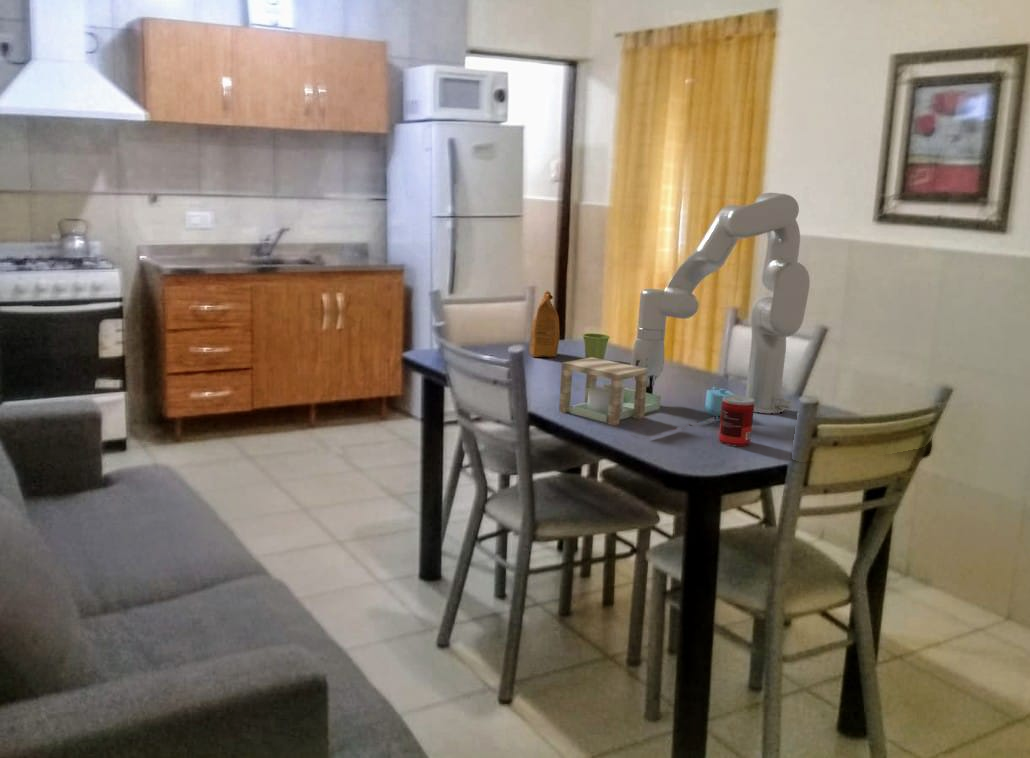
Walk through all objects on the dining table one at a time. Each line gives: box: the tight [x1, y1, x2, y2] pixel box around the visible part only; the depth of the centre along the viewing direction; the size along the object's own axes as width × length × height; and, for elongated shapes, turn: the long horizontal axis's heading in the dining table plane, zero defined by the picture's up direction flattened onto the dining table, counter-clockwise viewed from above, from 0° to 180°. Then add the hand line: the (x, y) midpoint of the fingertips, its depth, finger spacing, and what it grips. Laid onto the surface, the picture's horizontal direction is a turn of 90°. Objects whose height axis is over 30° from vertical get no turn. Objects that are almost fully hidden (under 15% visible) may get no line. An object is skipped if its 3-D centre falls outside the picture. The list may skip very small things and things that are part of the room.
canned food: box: [718, 394, 755, 447], centre depth 238 cm, size 8×8×11 cm
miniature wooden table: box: [558, 357, 648, 427], centre depth 255 cm, size 18×13×14 cm
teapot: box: [704, 386, 736, 418], centre depth 266 cm, size 12×6×8 cm, turn 10°
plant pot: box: [581, 332, 611, 360], centre depth 335 cm, size 9×9×9 cm
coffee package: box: [529, 290, 561, 358], centre depth 337 cm, size 10×12×22 cm
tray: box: [569, 387, 662, 424], centre depth 261 cm, size 12×24×4 cm, turn 139°
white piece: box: [603, 383, 625, 414], centre depth 259 cm, size 5×5×7 cm
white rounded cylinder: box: [587, 386, 609, 415], centre depth 254 cm, size 5×5×7 cm
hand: (645, 399), depth 271 cm, fingers closed
